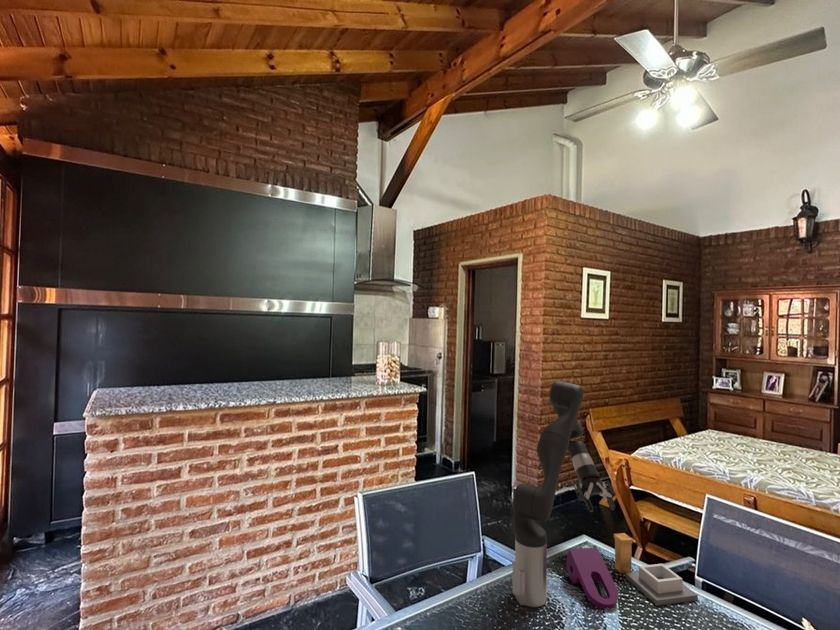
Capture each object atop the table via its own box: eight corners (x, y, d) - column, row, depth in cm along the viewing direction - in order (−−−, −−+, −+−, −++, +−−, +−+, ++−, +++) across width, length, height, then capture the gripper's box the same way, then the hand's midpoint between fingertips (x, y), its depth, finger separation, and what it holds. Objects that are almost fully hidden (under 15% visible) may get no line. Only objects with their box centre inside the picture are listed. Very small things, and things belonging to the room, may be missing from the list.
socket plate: (656, 605, 127) (656, 588, 127) (625, 577, 141) (625, 562, 141) (697, 600, 130) (697, 583, 130) (663, 573, 144) (663, 558, 144)
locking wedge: (622, 574, 143) (622, 540, 143) (613, 567, 147) (613, 534, 147) (632, 573, 143) (632, 539, 144) (624, 566, 148) (624, 533, 148)
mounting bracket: (617, 621, 129) (591, 564, 145) (624, 603, 125) (597, 547, 142) (587, 623, 128) (564, 565, 144) (593, 605, 125) (569, 548, 141)
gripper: (571, 464, 164) (589, 507, 153) (605, 462, 167) (625, 504, 155) (564, 473, 169) (580, 516, 158) (597, 471, 172) (615, 513, 161)
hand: (602, 510), depth 157 cm, fingers open, 8 cm apart
